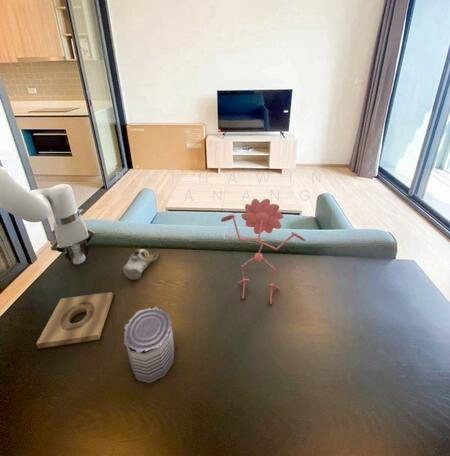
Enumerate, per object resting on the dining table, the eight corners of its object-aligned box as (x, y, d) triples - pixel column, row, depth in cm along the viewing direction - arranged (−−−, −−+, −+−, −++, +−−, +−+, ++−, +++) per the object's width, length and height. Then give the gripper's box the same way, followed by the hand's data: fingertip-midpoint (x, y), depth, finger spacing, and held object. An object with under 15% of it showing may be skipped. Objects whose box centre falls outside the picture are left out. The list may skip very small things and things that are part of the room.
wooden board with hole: (38, 348, 67) (36, 343, 67) (62, 302, 80) (60, 298, 80) (99, 339, 69) (97, 334, 69) (113, 296, 82) (112, 291, 82)
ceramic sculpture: (112, 262, 85) (136, 236, 99) (115, 282, 87) (138, 254, 101) (139, 267, 83) (160, 240, 97) (141, 287, 85) (161, 258, 99)
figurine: (298, 312, 76) (310, 217, 64) (218, 296, 82) (215, 206, 69) (296, 273, 90) (306, 189, 78) (228, 262, 96) (227, 182, 83)
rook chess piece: (78, 256, 100) (73, 240, 97) (88, 257, 99) (84, 241, 97) (70, 264, 96) (65, 248, 93) (80, 265, 95) (76, 249, 93)
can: (129, 346, 68) (122, 315, 63) (170, 328, 72) (166, 298, 68) (132, 393, 58) (125, 360, 54) (179, 369, 62) (175, 338, 58)
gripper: (90, 204, 98) (99, 241, 104) (38, 220, 88) (51, 260, 95) (94, 212, 93) (103, 251, 99) (39, 231, 83) (53, 272, 89)
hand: (78, 255), depth 97 cm, fingers open, 5 cm apart
